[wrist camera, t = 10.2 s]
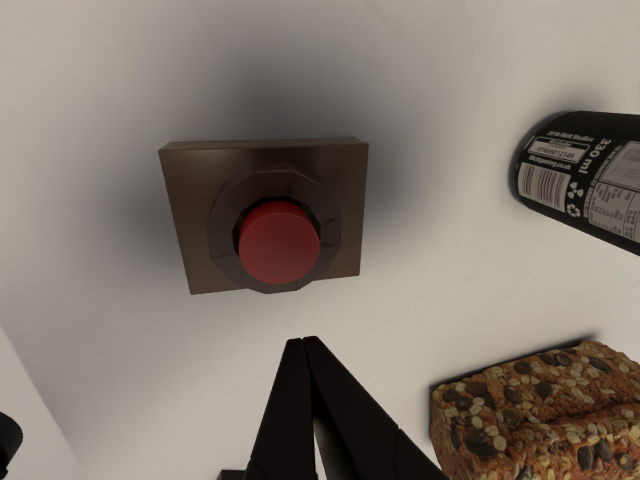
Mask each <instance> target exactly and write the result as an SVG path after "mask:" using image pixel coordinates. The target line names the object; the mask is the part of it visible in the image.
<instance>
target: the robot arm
mask: <svg viewBox="0 0 640 480" xmlns="http://www.w3.org/2000/svg"><path fill="white" fill-rule="evenodd" d="M398 428H399V427H398V425H397V424H396V423H395V422H394V421H393V419H392V418H391V417H390V416H389V415H388V414H387V413H386V412H385V411H384V410H383V408H382V407H381V406H380V405H379V404H378V403H377V402H376V401H375V400H374V398H373V397H372V396H371V395H370V394H369V393H368V392H367V391H366V390H365V389H364V387H363V386H362V385H361V384H360V383H359V382H358V381H357V380H356V379H355V378H354V376H353V375H352V374H351V373H350V372H349V371H348V370H347V369H346V368H345V366H344V365H343V364H342V363H341V362H340V361H339V360H338V359H337V358H336V357H335V355H334V354H333V353H332V352H331V351H330V350H329V349H328V348H327V347H326V346H325V344H324V343H323V342H322V341H321V340H320V339H319V338H318V337H317V336H309V337H304V338H303V339H301V338H295V339H289V340H287V342H286V345H285V349H284V352H283V355H282V358H281V361H280V364H279V368H278V371H277V374H276V377H275V380H274V383H273V387H272V390H271V393H270V396H269V399H268V402H267V406H266V409H265V412H264V415H263V418H262V422H261V425H260V428H259V431H258V434H257V437H256V441H255V444H254V447H253V450H252V453H251V456H250V458H251V460H249V462H248V465H247V468H246V472H245V475H244V478H243V480H316V467H315V447H314V433H315V436H316V440H317V444H318V448H319V451H320V455H321V459H322V463H323V466H324V470H325V474H326V478H327V480H451V479H450V478H449V477H448V476H446V475H445V474H444V473H443V472H442V471H441V470H440V469H439V468H438V467H437V466H436V465H435V464H434V463H433V462H432V461H431V460H430V459H429V458H428V457H427V456H426V455H425V454H424V453H423V452H422V451H421V450H420V449H419V448H418V447H417V446H416V445H415V444H414V442H413V441H412V440H411V439H410V438H409V437H408V436H407V435H406V434H405V433H404V431H403V430H402V429H398ZM7 474H8V470H7V469H6V467H5V466H4V465H3V464H2V463H1V461H0V480H3V479H4V478H5V476H6V475H7Z"/></svg>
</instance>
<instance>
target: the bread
mask: <svg viewBox="0 0 640 480" xmlns="http://www.w3.org/2000/svg"><path fill="white" fill-rule="evenodd" d="M431 398H432V401H431V402H430V408H431V411H432V415H433V416H432V424H431V426H430V432H431V434H430V438H431V442H432V445H433V448H434V451H435V454H436V457H437V460H438V463H439V464H440V466H441V469H442V472H443V473H444V474H445V475H446V476H448V477H449V478H450V479H451V480H640V365H639V364H638V363H637V362H635V361H632V360H630V359H629V358H628V357H627V356H626V355H625V354H624V353H622V352H616V351H615V350H613V349H611V348H609V347H608V346H607V345H603V344H602V343H600V342H596V341H584V340H582V341H580V342H579V345H578V346H576V347H572V348H561V349H560V350H557V349H555V350H549V351H547V352H544V353H538V354H536V355H533V356H530V357H526V358H522V359H519V360H516V361H512V362H508V363H504V364H501V365H497V366H494V367H491V368H487V369H485V370H484V371H483V372H481V373H479V374H475V375H473V376H472V377H471V378H463V379H462V380H461V381H460V382H457V383H450V384H449V385H445V384H442V385H440V386H439V387H438V388H436V389H435V391H434V392H433V393H432V394H431Z"/></svg>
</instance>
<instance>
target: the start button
mask: <svg viewBox="0 0 640 480" xmlns="http://www.w3.org/2000/svg"><path fill="white" fill-rule="evenodd" d="M319 249H320V244H319V238H318V235H317V233H316V230H315V228H314V226H313V224H312V222H311V220H310V218H309V216H308V215H307V214H306V212H305V211H304V210H303V209H301V208H300V207H299V206H297V205H295V204H293V203H290V202H286V201H269V202H265V203H263V204H260V205H258V206H257V207H255V208H254V209H252V210H251V211H250V212H249V213H248V214H247V216H246V217H245V218H244V220H243V222H242V225H241V228H240V237H239V257H240V260H241V263H242V265H243V266H244V268H245V269H246V271H247V272H248V273H249V274H250V275H252V276H253V277H254V278H256V279H258V280H260V281H262V282H265V283H270V284H285V283H289V282H293V281H295V280H297V279H299V278H301V277H303V276H304V275H305V274H307V273H308V272H309V271H310V270H311V268H312V267H313V266H314V264H315V262H316V260H317V258H318V255H319Z"/></svg>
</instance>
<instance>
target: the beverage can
mask: <svg viewBox="0 0 640 480" xmlns="http://www.w3.org/2000/svg"><path fill="white" fill-rule="evenodd" d="M515 182H516V189H517V193H518V196H519V198H520V200H521V201H522V202H523V204H524V205H525V206H527V207H528V208H529V209H531V210H534V211H536V212H538V213H541V214H543V215H545V216H548V217H550V218H552V219H555V220H557V221H559V222H561V223H564V224H566V225H568V226H571V227H573V228H575V229H578V230H580V231H582V232H585V233H587V234H589V235H592V236H594V237H596V238H598V239H601V240H603V241H605V242H608V243H610V244H612V245H615V246H617V247H619V248H622V249H624V250H626V251H629V252H631V253H633V254H635V255H638V256H640V115H635V114H621V113H607V112H593V111H575V112H571V113H567V114H564V115H562V116H560V117H558V118H556V119H555V120H553V121H551V122H550V123H549V124H547V125H546V126H545V127H543V128H542V129H541V130H539V131H538V132H537V133H536V134H535V135H534V136H533V137H532V138H531V139H530V140H529V142H528V143H527V144H526V146H525V147H524V149H523V151H522V153H521V155H520V157H519V159H518V162H517V166H516V170H515Z"/></svg>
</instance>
